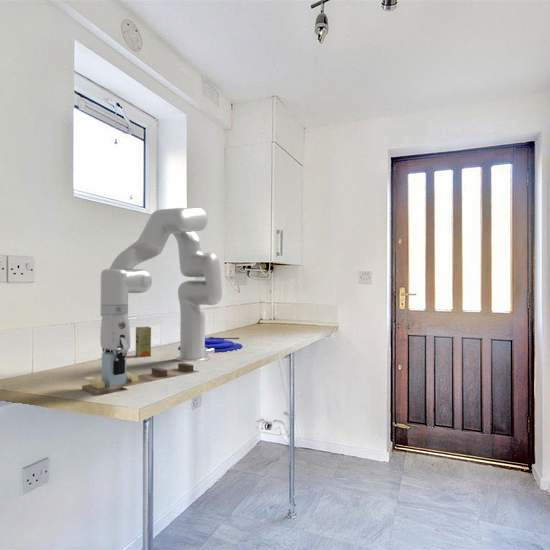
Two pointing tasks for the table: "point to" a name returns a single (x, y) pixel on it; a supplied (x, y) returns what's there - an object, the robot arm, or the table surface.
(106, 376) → the painted block
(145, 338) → the shoe polish box
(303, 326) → the table surface
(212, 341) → the coiled blue cable
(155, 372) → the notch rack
